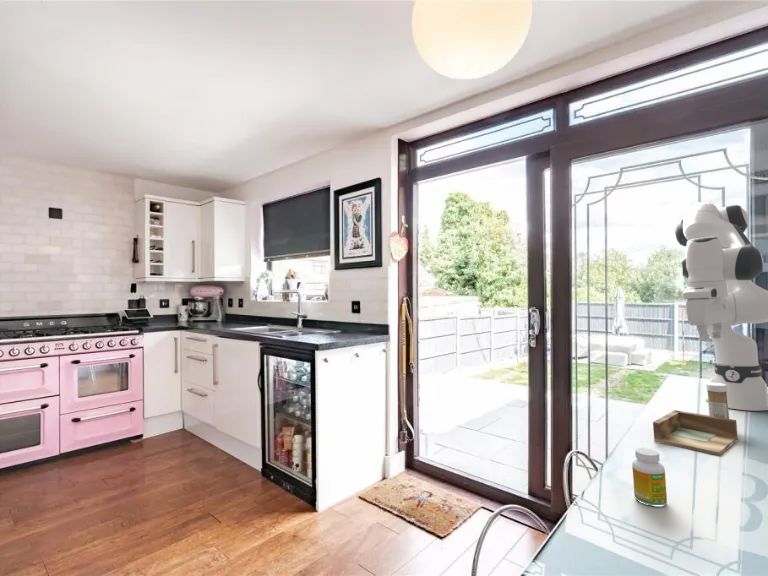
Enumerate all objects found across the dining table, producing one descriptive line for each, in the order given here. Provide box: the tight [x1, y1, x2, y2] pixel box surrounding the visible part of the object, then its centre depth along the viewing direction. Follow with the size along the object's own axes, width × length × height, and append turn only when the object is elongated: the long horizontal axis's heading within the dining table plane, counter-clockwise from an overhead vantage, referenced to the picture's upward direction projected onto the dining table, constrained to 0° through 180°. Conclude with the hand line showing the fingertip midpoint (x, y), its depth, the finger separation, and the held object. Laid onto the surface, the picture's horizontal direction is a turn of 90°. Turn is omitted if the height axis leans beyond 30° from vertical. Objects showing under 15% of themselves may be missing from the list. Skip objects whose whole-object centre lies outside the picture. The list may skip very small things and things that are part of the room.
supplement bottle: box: [631, 447, 668, 506], centre depth 79 cm, size 5×5×10 cm
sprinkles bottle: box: [705, 382, 730, 419], centre depth 114 cm, size 5×5×13 cm
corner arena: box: [652, 410, 739, 456], centre depth 108 cm, size 16×14×5 cm
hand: (711, 339), depth 115 cm, fingers open, 8 cm apart
